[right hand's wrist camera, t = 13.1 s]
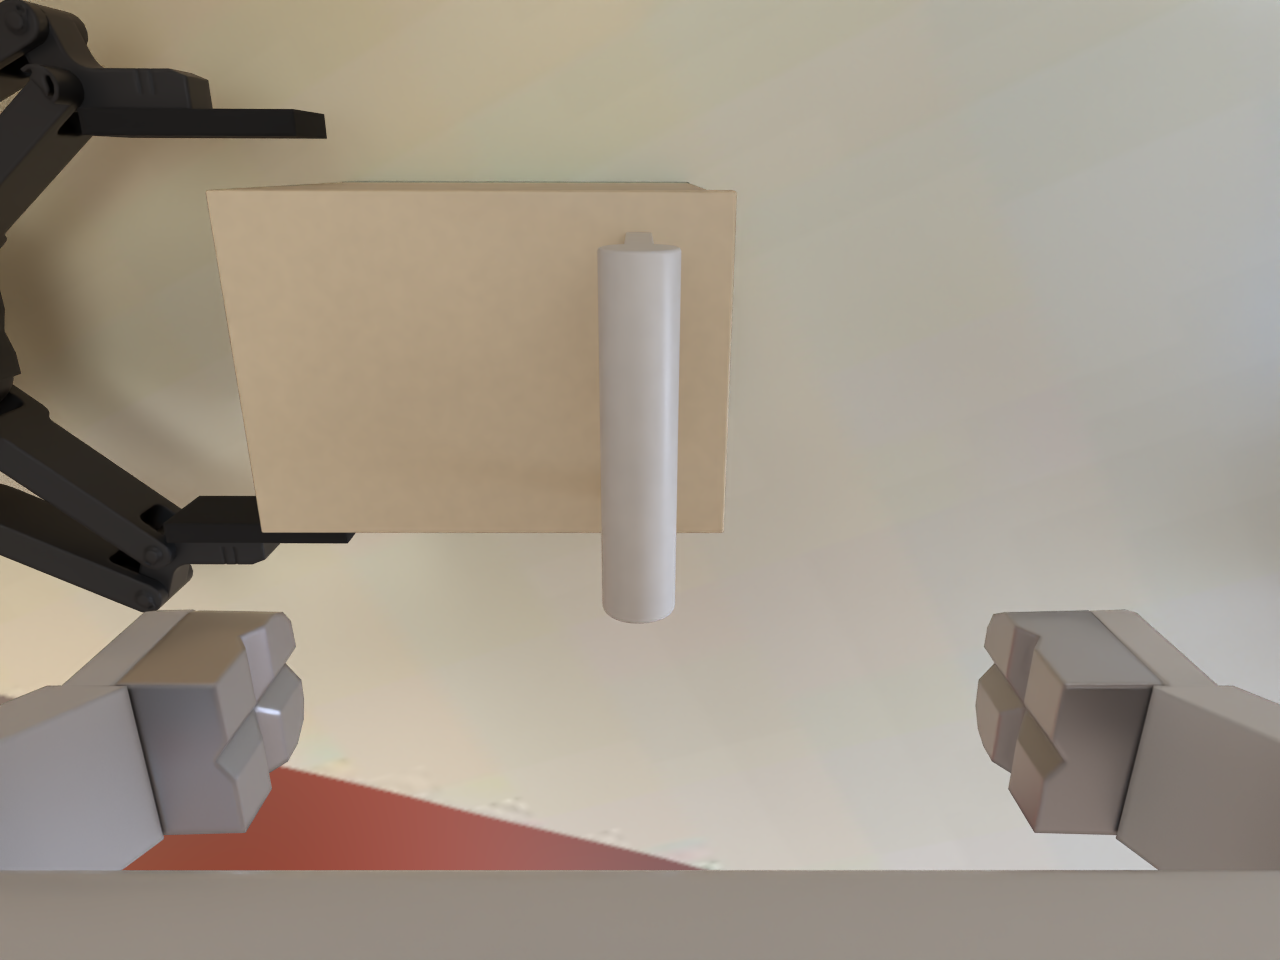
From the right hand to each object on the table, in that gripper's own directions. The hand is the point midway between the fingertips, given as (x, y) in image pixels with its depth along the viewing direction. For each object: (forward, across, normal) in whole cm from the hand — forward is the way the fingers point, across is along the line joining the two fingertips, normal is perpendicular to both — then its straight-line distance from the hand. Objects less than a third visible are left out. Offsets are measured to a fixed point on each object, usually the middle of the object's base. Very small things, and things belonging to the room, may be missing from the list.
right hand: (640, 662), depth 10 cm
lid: (+16, +4, 0) cm, 16 cm away
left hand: (+21, +10, 0) cm, 23 cm away
